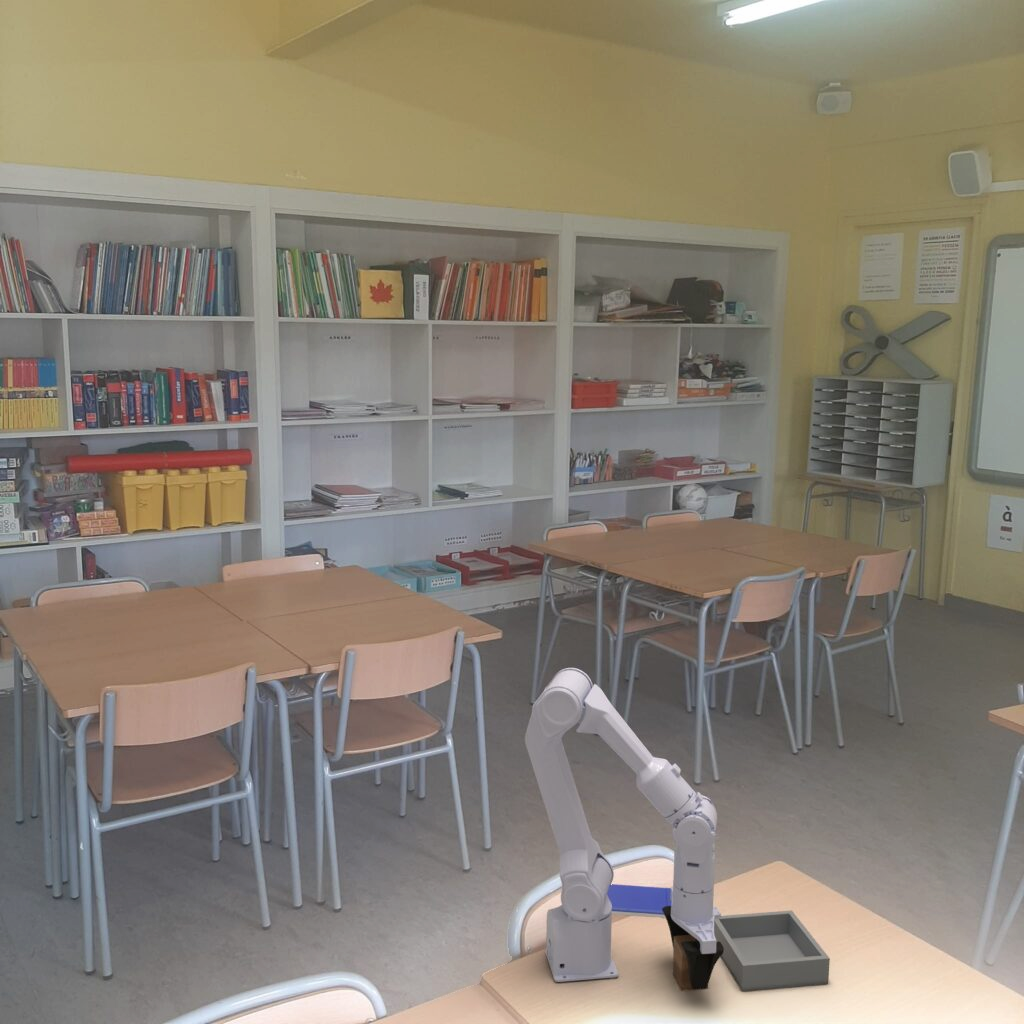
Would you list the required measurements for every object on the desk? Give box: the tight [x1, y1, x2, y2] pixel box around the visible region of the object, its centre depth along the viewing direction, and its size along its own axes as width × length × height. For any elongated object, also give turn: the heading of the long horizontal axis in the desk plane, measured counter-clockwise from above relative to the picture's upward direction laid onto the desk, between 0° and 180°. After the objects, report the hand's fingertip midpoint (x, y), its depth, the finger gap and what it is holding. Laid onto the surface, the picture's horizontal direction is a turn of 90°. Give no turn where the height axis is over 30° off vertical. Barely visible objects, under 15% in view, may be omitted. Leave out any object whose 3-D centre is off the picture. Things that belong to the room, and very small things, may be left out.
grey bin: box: [714, 910, 831, 993], centre depth 151 cm, size 13×13×4 cm
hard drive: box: [607, 883, 672, 919], centre depth 168 cm, size 2×8×12 cm
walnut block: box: [672, 935, 709, 991], centre depth 146 cm, size 4×4×6 cm
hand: (690, 971), depth 146 cm, fingers open, 7 cm apart
